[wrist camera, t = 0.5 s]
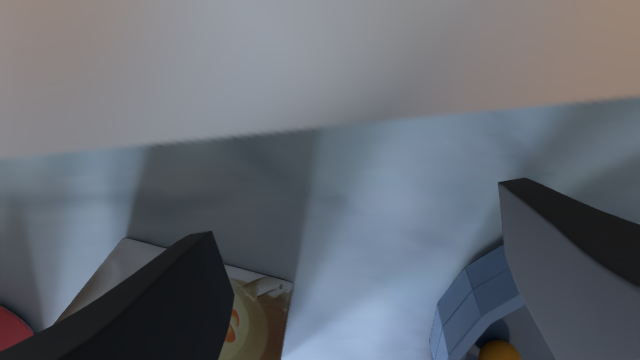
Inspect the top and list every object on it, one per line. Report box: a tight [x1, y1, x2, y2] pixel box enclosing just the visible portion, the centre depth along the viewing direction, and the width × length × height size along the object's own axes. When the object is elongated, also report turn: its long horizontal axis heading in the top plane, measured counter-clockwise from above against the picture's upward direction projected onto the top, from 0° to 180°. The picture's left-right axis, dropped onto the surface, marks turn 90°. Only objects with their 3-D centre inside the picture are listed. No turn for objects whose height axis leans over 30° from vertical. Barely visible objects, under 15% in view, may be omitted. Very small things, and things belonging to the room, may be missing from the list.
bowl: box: [429, 244, 556, 360], centre depth 23 cm, size 12×12×4 cm
